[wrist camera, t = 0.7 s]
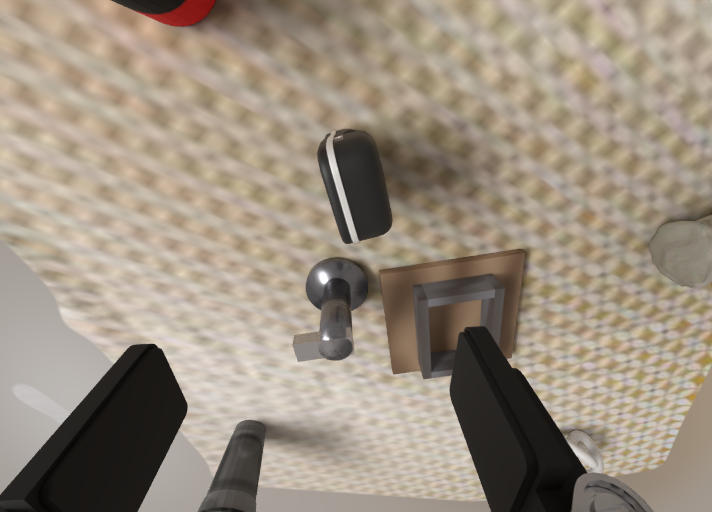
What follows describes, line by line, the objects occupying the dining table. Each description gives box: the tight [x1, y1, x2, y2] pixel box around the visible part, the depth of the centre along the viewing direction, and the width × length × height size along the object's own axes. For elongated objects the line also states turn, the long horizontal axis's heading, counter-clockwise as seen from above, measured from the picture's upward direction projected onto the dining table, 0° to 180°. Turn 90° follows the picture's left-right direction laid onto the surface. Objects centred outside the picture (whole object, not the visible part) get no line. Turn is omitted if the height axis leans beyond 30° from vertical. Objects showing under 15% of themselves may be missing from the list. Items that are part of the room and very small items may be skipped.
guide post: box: [293, 258, 368, 362], centre depth 30 cm, size 7×7×10 cm
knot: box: [565, 430, 604, 474], centre depth 48 cm, size 8×8×6 cm
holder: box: [379, 249, 525, 379], centre depth 35 cm, size 16×16×4 cm
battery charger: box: [317, 129, 392, 244], centre depth 23 cm, size 7×4×11 cm, turn 15°
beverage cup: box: [198, 420, 266, 512], centre depth 37 cm, size 7×7×20 cm
